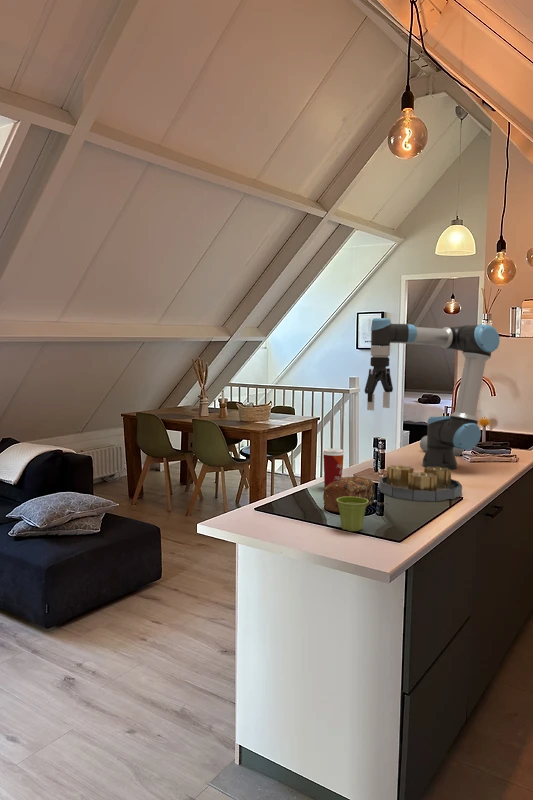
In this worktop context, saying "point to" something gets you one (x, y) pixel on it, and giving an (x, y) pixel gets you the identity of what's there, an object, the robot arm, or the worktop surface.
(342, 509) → the plant pot
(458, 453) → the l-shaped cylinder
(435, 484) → the seated gear
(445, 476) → the seated gear
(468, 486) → the worktop surface
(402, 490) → the tray
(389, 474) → the planet gear
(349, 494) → the bread
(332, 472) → the coffee cup
